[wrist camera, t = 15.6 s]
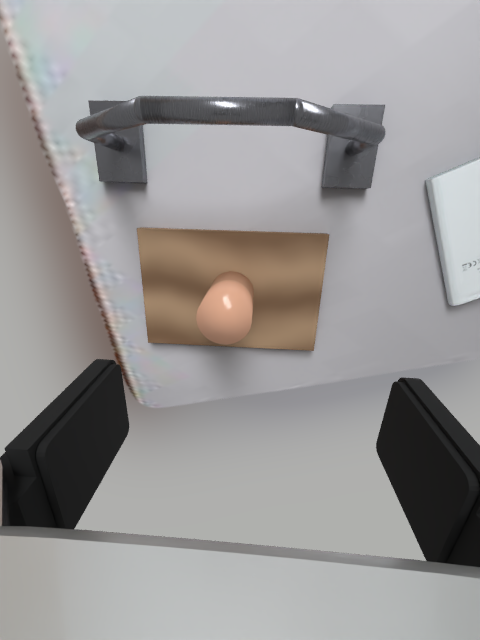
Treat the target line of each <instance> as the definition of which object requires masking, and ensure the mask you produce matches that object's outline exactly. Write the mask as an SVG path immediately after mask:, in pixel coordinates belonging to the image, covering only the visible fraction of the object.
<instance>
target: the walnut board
mask: <svg viewBox="0 0 480 640" xmlns="http://www.w3.org/2000/svg"><path fill="white" fill-rule="evenodd" d="M137 234H138V244H139V254H140V264H141V274H142V284H143V294H144V304H145V315H146V325H147V335H148V343H168V344H189V345H209V346H229V347H250V348H270V349H291V350H311V351H314V344H315V337H316V329H317V322H318V314H319V307H320V299H321V292H322V284H323V277H324V270H325V262H326V255H327V247H328V240H329V234H322V233H291V232H260V231H229V230H198V229H168V228H137ZM229 271H234V272H239V273H241V274H243V275H245V276H246V277H247V278H248V279H249V280H250V282H251V283H252V285H253V289H254V300H253V313H252V324H251V328H250V330H249V332H248V334H247V335H246V336H245V337H244V338H243V339H242V340H240V341H238V342H236V343H233V344H227V345H225V344H218V343H215V342H212V341H210V340H209V339H207V338H206V337H205V336H204V335H203V334H202V333H201V331H200V330H199V328H198V325H197V320H196V314H197V310H198V308H199V306H200V304H201V302H202V300H203V299H204V297H205V295H206V293H207V292H208V290H209V288H210V286H211V285H212V283H213V281H214V280H215V278H216V277H217V276H219V275H220V274H222V273H224V272H229Z"/></svg>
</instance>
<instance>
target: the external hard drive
mask: <svg viewBox="0 0 480 640" xmlns="http://www.w3.org/2000/svg"><path fill="white" fill-rule="evenodd" d="M425 182H426V187H427V192H428V198H429V203H430V208H431V213H432V219H433V224H434V230H435V235H436V240H437V246H438V251H439V256H440V262H441V267H442V273H443V278H444V283H445V289H446V294H447V300H448V304H450V305H452V306H457V305H461V304H464V303H467V302H470V301H473V300H475V299H478V298H480V157H479V158H477V159H474V160H472V161H469V162H467V163H465V164H462V165H460V166H457V167H455V168H453V169H450V170H448V171H445V172H443V173H441V174H438V175H436V176H433V177H431V178H428V179H426V180H425Z"/></svg>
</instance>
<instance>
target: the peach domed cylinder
mask: <svg viewBox="0 0 480 640" xmlns="http://www.w3.org/2000/svg"><path fill="white" fill-rule="evenodd" d="M253 300H254V289H253V285H252V283H251V282H250V280H249V279H248V278H247V277H246V276H245V275H243V274H241V273H239V272H234V271H229V272H224V273H222V274H220V275H219V276H217V277H216V278H215V280H214V281H213V283H212V285H211V286H210V288H209V290H208V292H207V293H206V295H205V297H204V299H203V300H202V302H201V304H200V306H199V308H198V310H197V314H196V320H197V325H198V328H199V330H200V331H201V333H202V334H203V335H204V336H205V337H206V338H207V339H209V340H210V341H212V342H215V343H218V344H225V345H227V344H233V343H236V342H238V341H240V340H242V339H243V338H244V337H245V336H246V335H247V334H248V332H249V330H250V328H251V324H252V313H253Z"/></svg>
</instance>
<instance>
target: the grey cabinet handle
mask: <svg viewBox="0 0 480 640" xmlns="http://www.w3.org/2000/svg"><path fill="white" fill-rule="evenodd" d="M89 108H90V115H91V116H88V117H86V118H83V119H81V120H79V121H78V122H77V123H76V131H77V133H78V135H79V136H80V137H82V138H83V139H86V140H88V141H91V142H94V144H95V151H96V159H97V166H98V173H99V181H103V182H134V183H147V175H146V162H145V150H144V138H143V126H142V125H144V124H203V125H261V126H294V127H298V128H302V129H306V130H311V131H315V132H319V133H323V134H327V135H328V138H327V146H326V155H325V163H324V172H323V180H322V187H327V188H365V189H367V188H371V183H372V177H373V171H374V166H375V160H376V154H377V149H378V144H379V143H380V142H381V141H382V140H383V139H384V137H385V129H384V127H383V126H382V120H383V114H384V109H385V105H357V104H334V105H333V106H332V107H331V109H330V108H327V107H324V106H321V105H317V104H314V103H311V102H308V101H305V100H302V99H299V98H257V97H183V96H139V97H136V98H134V99H131V100H129V101H89Z"/></svg>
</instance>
